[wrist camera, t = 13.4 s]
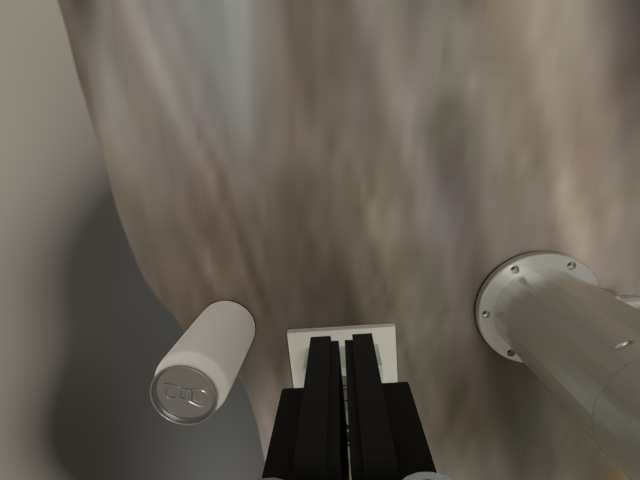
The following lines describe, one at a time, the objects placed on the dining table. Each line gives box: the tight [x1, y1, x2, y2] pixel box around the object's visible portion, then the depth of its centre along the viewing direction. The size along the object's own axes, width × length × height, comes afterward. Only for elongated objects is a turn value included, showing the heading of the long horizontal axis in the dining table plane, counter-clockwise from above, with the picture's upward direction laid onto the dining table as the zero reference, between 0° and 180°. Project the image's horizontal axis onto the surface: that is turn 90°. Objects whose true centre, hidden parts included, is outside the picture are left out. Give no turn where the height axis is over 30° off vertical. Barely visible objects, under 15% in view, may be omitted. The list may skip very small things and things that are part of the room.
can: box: [150, 301, 255, 425], centre depth 34 cm, size 6×6×12 cm
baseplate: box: [287, 323, 398, 388], centre depth 40 cm, size 12×12×1 cm
